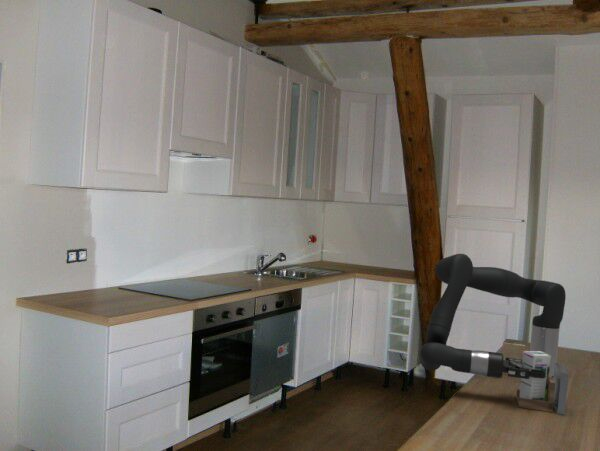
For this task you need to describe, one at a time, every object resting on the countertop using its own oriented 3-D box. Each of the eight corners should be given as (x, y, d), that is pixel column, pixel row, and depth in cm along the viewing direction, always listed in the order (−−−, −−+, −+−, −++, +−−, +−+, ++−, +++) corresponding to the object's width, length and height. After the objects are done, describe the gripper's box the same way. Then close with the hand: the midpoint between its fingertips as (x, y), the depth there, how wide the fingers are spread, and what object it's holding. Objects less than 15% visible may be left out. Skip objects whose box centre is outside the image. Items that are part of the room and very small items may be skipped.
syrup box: (530, 403, 189) (535, 355, 188) (518, 396, 195) (523, 349, 194) (546, 403, 191) (551, 355, 190) (534, 396, 197) (539, 350, 196)
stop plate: (551, 401, 197) (554, 363, 197) (558, 402, 197) (561, 363, 196) (557, 413, 186) (561, 372, 185) (564, 414, 185) (568, 373, 185)
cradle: (516, 397, 199) (518, 370, 198) (547, 401, 197) (550, 374, 196) (519, 407, 189) (521, 378, 188) (552, 411, 187) (555, 383, 186)
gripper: (488, 357, 189) (547, 364, 185) (486, 346, 203) (541, 353, 199) (486, 382, 189) (544, 390, 185) (484, 370, 203) (538, 377, 199)
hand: (542, 371), depth 192 cm, fingers closed on syrup box, 7 cm apart
